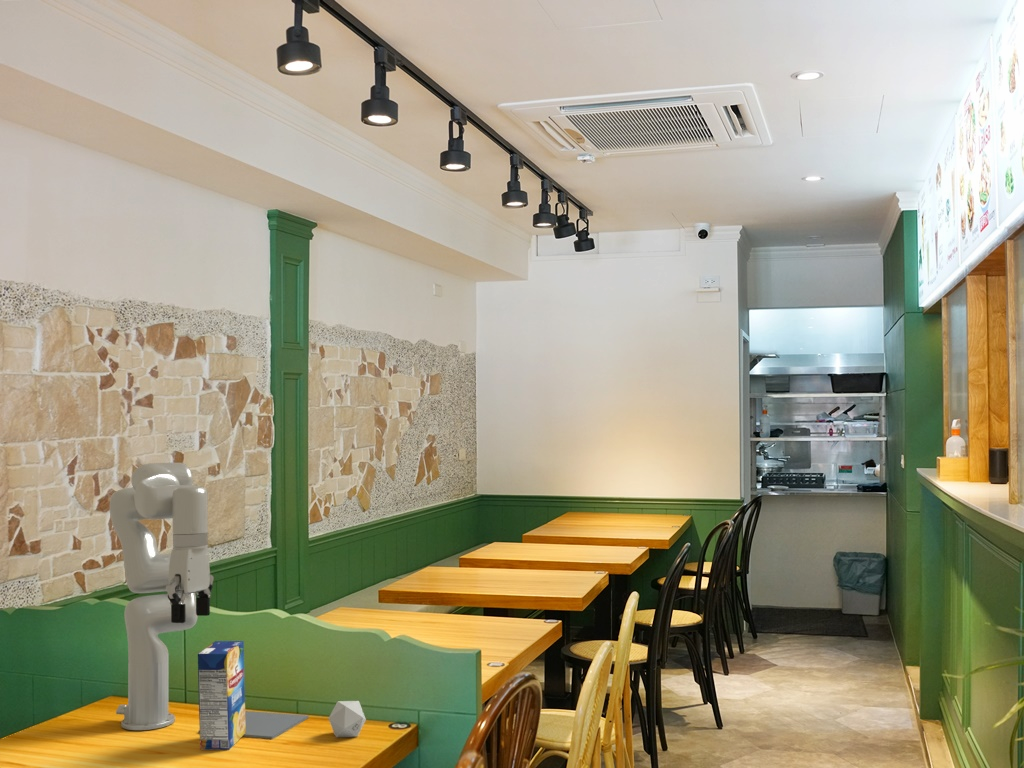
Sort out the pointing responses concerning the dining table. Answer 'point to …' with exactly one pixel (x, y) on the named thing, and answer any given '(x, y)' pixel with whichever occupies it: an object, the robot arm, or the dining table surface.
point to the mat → (269, 724)
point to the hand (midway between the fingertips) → (190, 618)
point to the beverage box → (221, 695)
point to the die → (347, 719)
